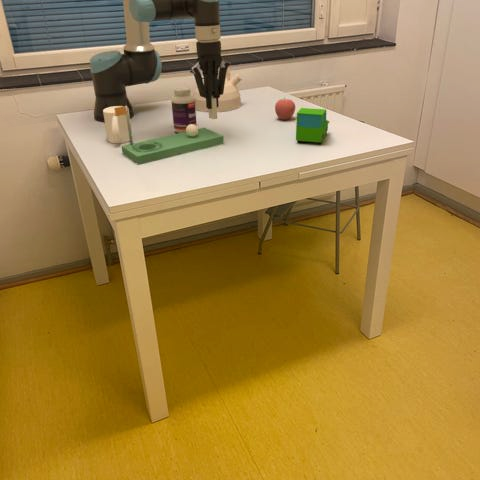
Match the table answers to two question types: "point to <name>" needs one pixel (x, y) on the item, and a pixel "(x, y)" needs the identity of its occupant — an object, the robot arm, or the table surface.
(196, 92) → the kettle
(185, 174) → the table surface
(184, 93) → the pill bottle
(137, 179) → the table surface
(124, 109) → the flag pin
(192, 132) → the ball
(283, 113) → the apple
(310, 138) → the toy car
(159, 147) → the putting mat
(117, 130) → the mug
